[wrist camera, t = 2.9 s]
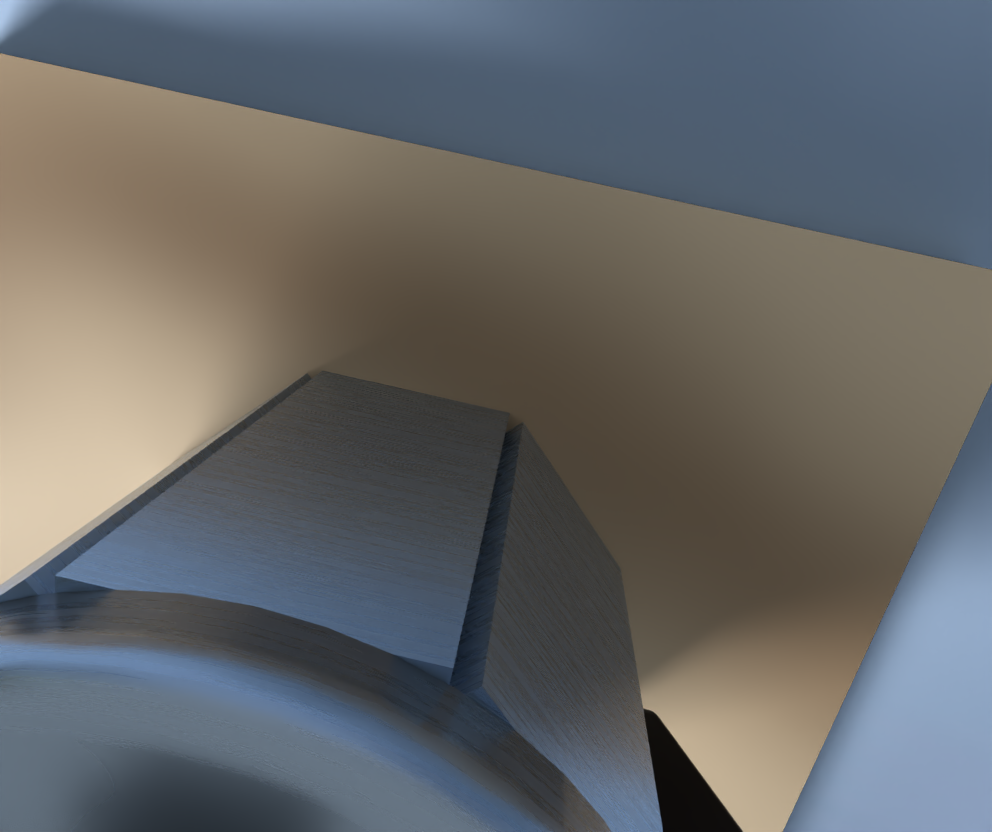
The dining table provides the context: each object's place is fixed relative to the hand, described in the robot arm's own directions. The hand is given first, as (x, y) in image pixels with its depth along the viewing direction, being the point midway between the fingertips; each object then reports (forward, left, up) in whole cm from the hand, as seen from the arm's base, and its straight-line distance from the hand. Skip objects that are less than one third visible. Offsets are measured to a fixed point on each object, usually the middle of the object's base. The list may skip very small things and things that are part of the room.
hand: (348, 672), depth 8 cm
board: (-4, 0, -2) cm, 5 cm away
